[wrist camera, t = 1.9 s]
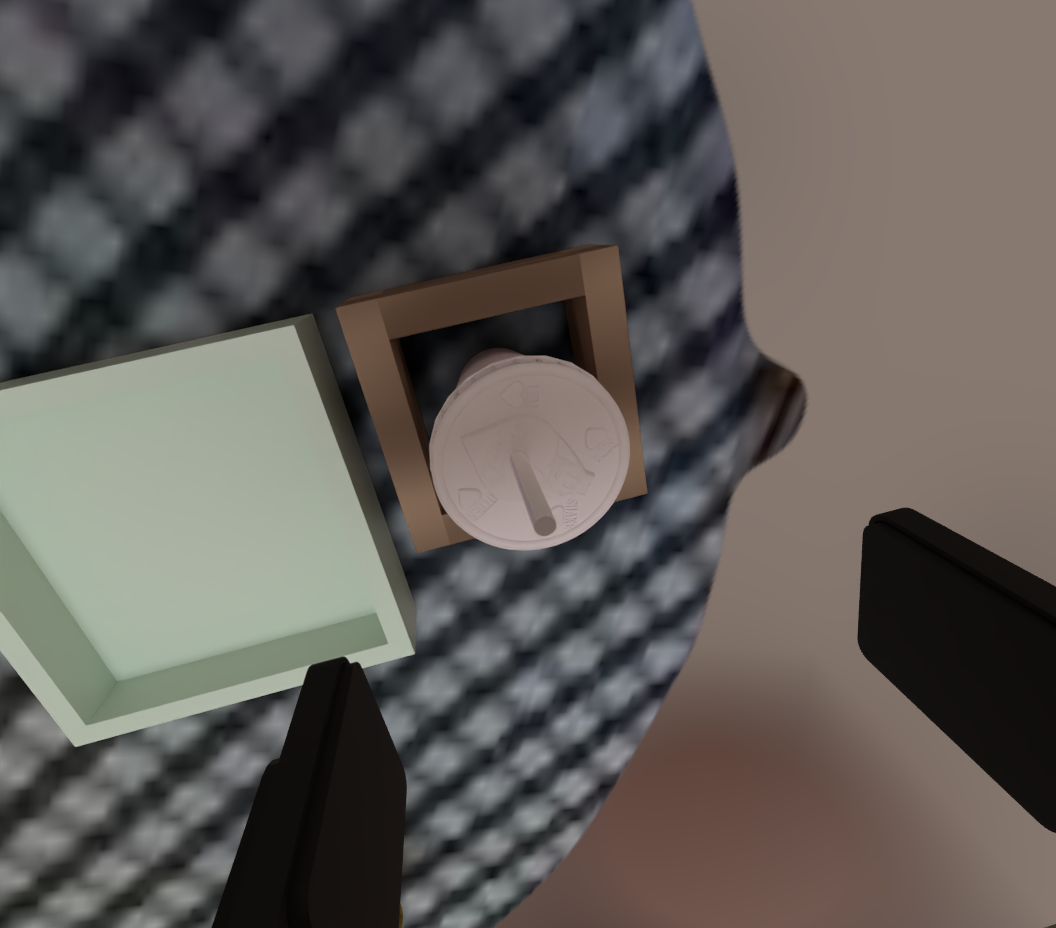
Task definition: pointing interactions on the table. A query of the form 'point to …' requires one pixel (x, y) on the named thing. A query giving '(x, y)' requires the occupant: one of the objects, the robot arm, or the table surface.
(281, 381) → the tray
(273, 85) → the table surface
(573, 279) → the socket block
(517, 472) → the smoothie
